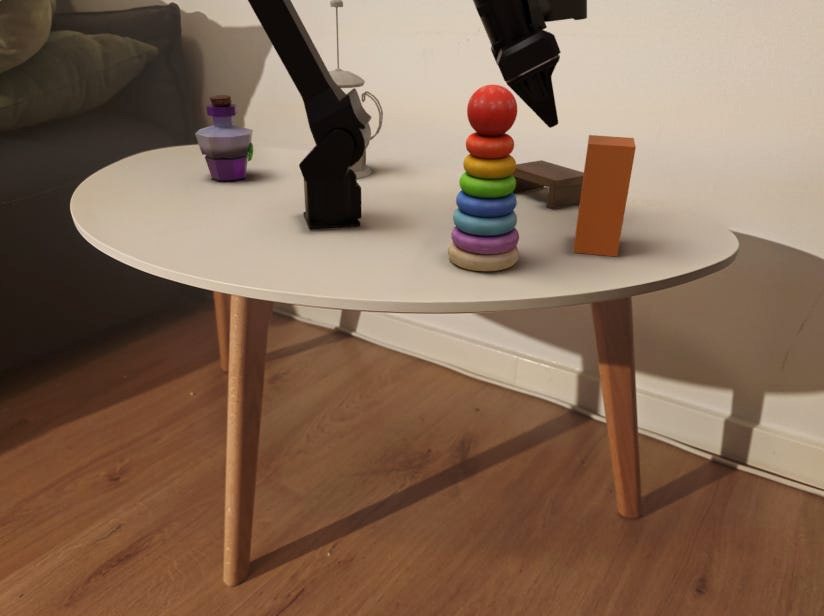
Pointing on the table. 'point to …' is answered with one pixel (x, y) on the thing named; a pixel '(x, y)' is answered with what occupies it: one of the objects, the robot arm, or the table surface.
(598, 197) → the orange box
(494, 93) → the stacking toy
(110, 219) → the table surface
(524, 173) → the walnut shelf
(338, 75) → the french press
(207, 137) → the potion bottle
